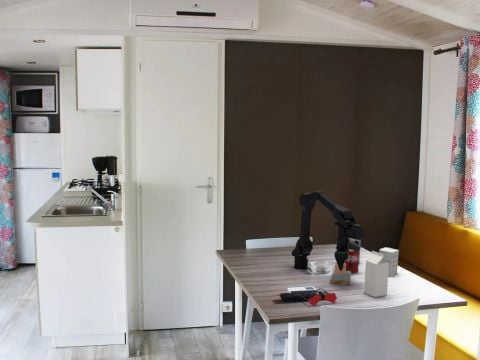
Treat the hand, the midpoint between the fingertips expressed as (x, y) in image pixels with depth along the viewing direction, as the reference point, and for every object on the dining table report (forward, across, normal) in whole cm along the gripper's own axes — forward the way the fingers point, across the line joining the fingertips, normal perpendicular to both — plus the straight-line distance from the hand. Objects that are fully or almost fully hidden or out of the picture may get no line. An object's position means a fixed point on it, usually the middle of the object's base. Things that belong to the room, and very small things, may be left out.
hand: (341, 267), depth 238 cm
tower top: (+5, 0, 0) cm, 5 cm away
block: (+2, 0, +1) cm, 3 cm away
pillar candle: (+7, +35, -3) cm, 36 cm away
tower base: (+8, 0, 0) cm, 8 cm away
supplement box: (+7, +21, -22) cm, 31 cm away
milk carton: (+7, -12, -16) cm, 21 cm away
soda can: (+7, +18, -4) cm, 20 cm away
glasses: (+8, -26, +10) cm, 29 cm away
